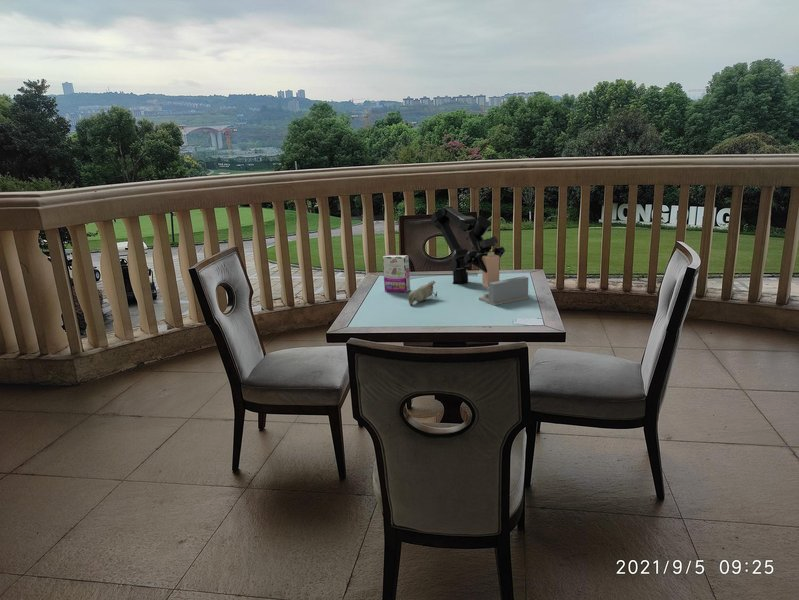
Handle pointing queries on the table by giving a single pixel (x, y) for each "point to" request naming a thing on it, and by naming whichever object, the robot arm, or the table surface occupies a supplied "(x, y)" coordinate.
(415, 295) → the decorative bird
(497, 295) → the wall board
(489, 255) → the tan tall block
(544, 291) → the table surface
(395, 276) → the candy bar box
